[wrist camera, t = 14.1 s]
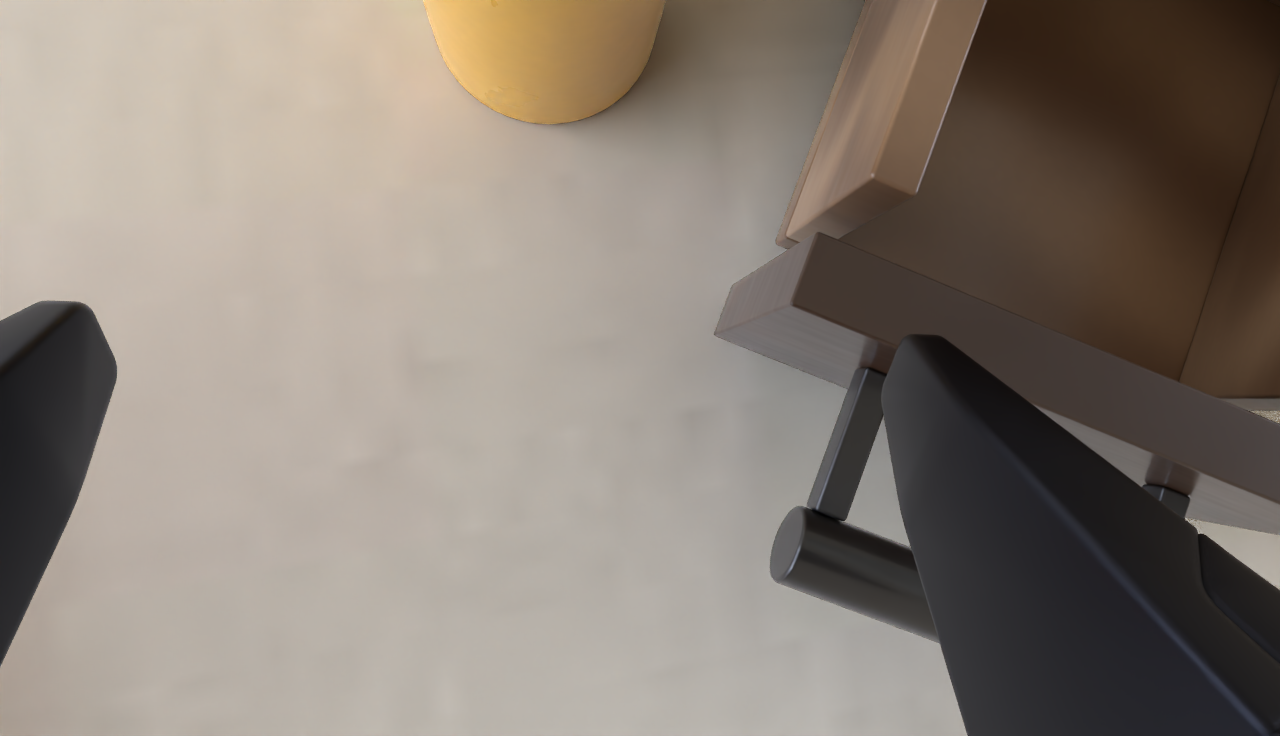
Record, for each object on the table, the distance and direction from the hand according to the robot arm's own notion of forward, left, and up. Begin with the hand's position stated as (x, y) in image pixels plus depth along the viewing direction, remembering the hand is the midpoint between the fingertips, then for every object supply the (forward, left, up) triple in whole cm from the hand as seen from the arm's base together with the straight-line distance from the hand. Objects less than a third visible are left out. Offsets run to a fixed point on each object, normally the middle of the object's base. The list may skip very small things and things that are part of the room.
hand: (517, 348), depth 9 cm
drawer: (+10, -3, -8) cm, 13 cm away
